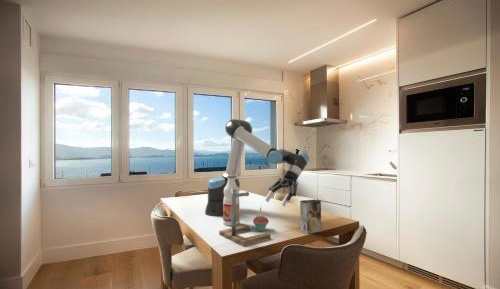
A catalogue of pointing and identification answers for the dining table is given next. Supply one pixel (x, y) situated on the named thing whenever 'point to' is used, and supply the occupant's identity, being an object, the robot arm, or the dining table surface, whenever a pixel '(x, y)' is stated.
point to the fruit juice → (230, 201)
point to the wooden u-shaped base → (241, 240)
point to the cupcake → (260, 222)
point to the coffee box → (310, 216)
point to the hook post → (235, 208)
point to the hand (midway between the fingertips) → (274, 202)
